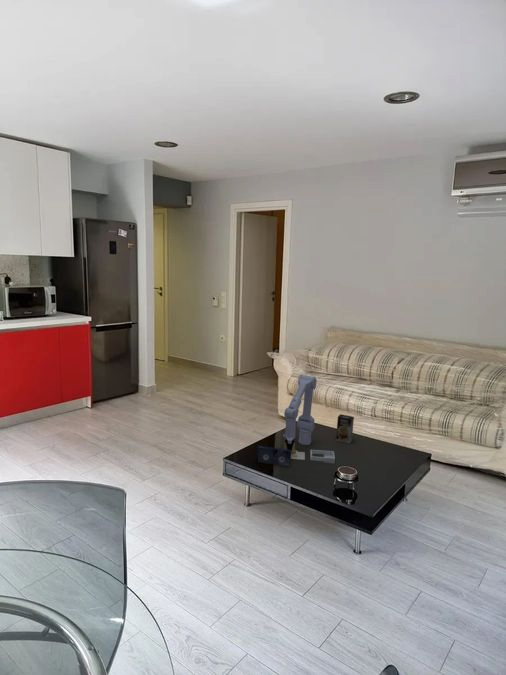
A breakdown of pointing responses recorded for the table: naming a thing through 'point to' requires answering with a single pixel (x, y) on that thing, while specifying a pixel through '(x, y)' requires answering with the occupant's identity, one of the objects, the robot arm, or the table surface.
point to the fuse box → (298, 455)
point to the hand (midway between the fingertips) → (289, 450)
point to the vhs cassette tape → (274, 456)
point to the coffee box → (344, 428)
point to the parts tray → (327, 457)
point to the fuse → (292, 448)
